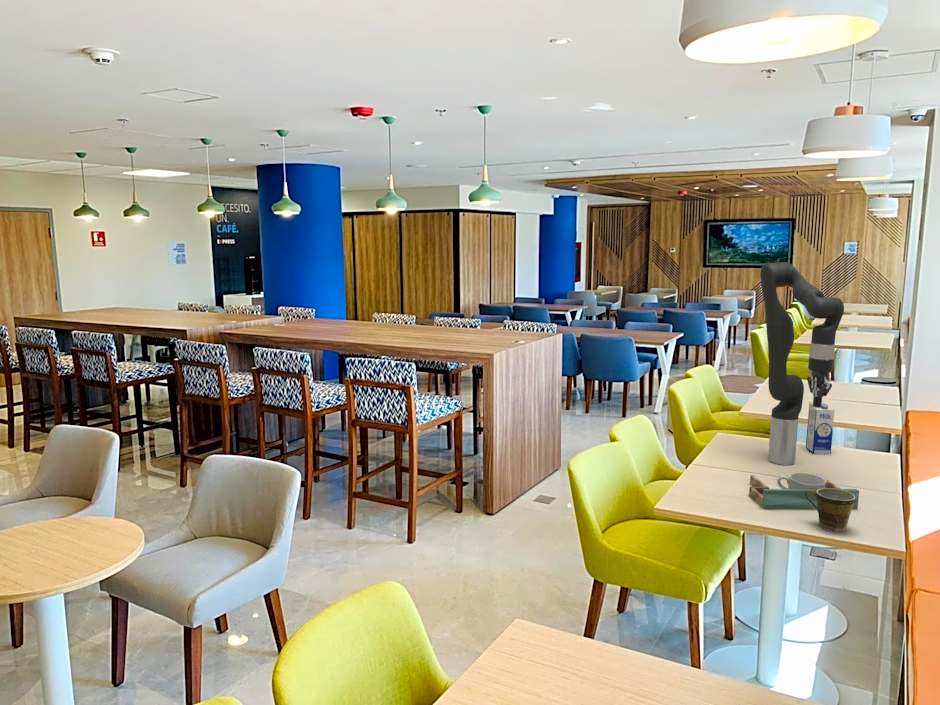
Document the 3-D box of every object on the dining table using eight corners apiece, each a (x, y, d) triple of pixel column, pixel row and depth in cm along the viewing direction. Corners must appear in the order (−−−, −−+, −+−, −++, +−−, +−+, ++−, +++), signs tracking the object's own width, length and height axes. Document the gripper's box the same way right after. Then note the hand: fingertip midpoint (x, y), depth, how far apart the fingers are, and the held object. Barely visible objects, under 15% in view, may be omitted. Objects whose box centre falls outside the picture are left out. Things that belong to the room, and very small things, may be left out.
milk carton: (822, 449, 274) (827, 401, 271) (831, 454, 267) (835, 405, 264) (804, 449, 274) (808, 400, 271) (812, 454, 267) (816, 404, 264)
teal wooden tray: (735, 483, 234) (736, 466, 233) (819, 483, 234) (821, 467, 234) (764, 509, 212) (765, 490, 211) (857, 509, 212) (859, 490, 211)
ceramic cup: (856, 526, 199) (859, 493, 197) (847, 537, 191) (850, 503, 190) (808, 514, 207) (810, 483, 206) (798, 524, 200) (800, 492, 198)
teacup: (826, 499, 220) (828, 475, 219) (822, 510, 211) (824, 485, 210) (779, 491, 227) (780, 468, 226) (773, 501, 218) (775, 477, 217)
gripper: (801, 353, 236) (796, 402, 239) (819, 360, 223) (815, 411, 226) (823, 353, 236) (818, 402, 239) (843, 360, 223) (838, 412, 226)
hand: (816, 407), depth 232 cm, fingers closed
